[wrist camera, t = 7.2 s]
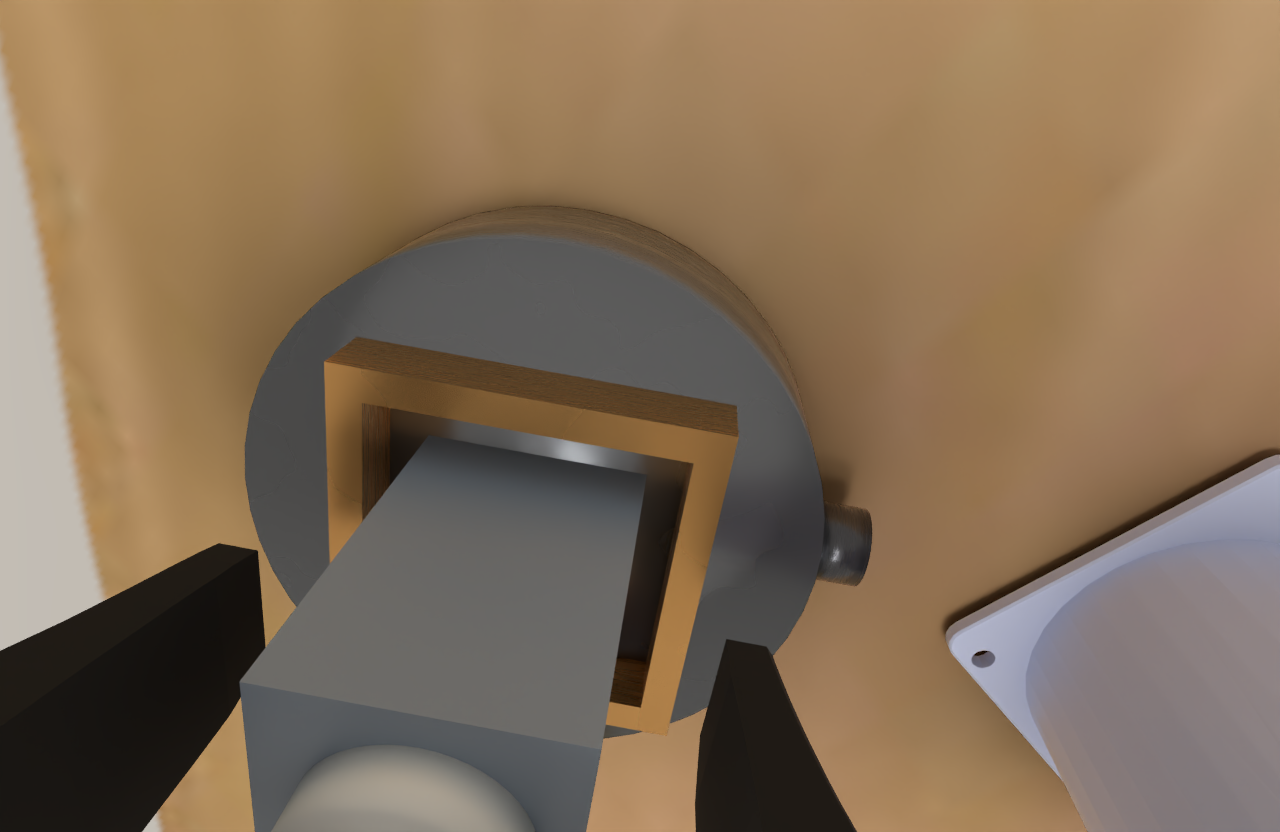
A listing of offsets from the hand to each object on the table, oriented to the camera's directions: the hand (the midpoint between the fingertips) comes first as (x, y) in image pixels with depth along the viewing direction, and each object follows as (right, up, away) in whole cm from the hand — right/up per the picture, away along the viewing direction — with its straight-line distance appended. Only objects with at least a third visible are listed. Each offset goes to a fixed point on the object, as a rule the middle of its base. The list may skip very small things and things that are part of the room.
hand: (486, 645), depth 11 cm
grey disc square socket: (0, +3, +5) cm, 6 cm away
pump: (0, +1, +3) cm, 3 cm away
